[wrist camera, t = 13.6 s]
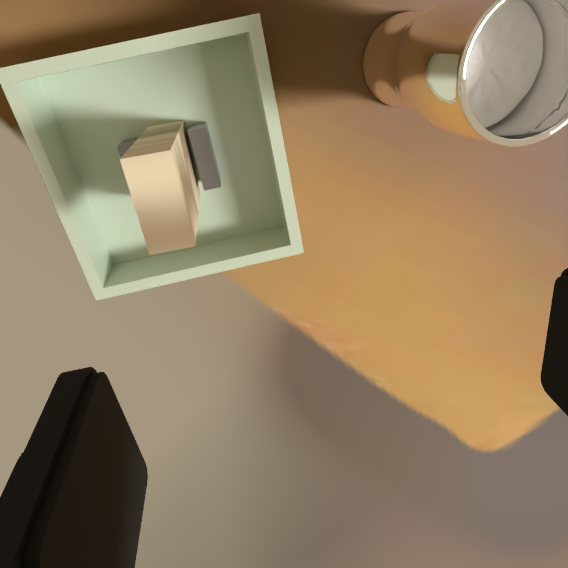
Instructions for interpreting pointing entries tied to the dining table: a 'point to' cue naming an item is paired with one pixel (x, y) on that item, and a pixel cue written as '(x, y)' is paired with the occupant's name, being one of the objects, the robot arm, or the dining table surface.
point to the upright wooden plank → (164, 186)
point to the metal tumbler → (477, 67)
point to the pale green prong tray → (134, 121)
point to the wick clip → (201, 152)
